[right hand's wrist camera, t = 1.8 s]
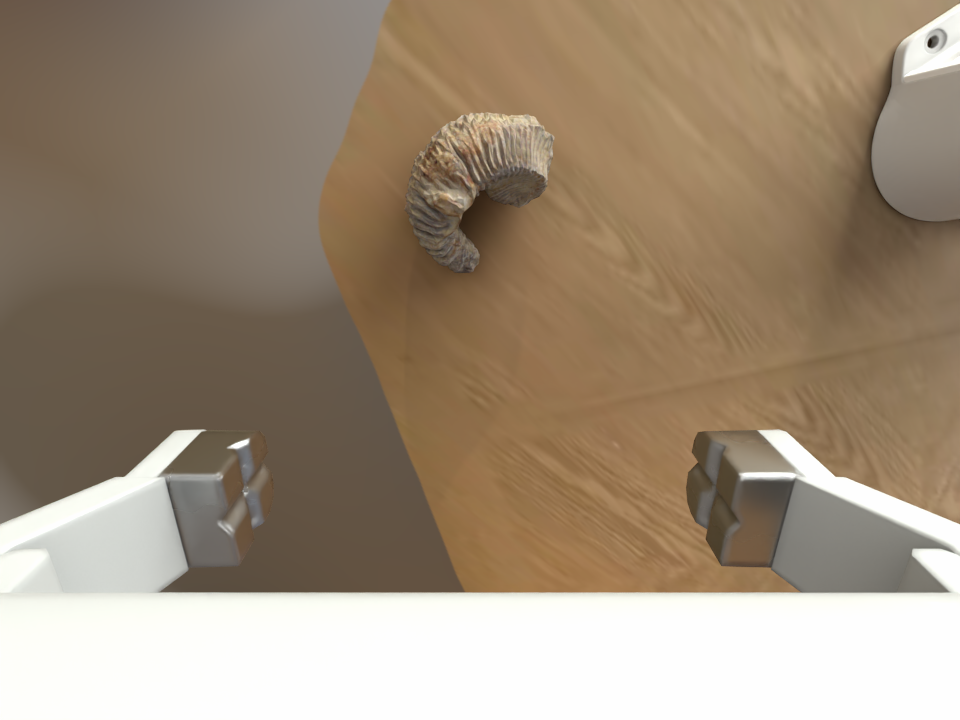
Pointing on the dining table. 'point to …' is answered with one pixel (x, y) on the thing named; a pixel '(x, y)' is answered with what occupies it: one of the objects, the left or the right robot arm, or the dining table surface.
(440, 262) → the seashell
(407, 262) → the dining table surface
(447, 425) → the dining table surface
